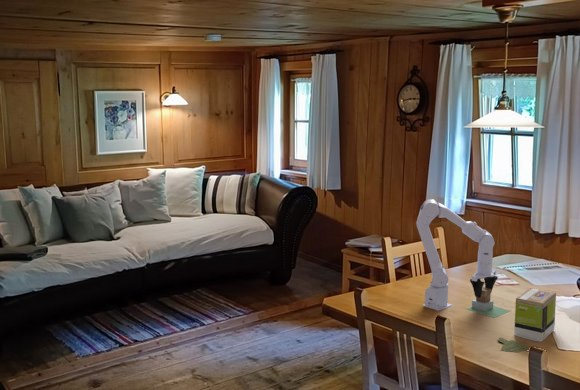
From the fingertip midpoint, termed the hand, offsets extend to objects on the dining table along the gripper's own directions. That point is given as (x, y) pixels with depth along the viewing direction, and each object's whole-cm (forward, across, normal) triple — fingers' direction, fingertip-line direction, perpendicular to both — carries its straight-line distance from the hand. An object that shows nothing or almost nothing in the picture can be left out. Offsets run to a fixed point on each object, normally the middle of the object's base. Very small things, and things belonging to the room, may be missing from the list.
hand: (483, 294), depth 258 cm
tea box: (+6, -9, -28) cm, 30 cm away
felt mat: (+6, 0, -3) cm, 6 cm away
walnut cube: (+2, 0, 0) cm, 2 cm away
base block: (+5, 0, 0) cm, 5 cm away
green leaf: (+6, -27, -32) cm, 42 cm away
